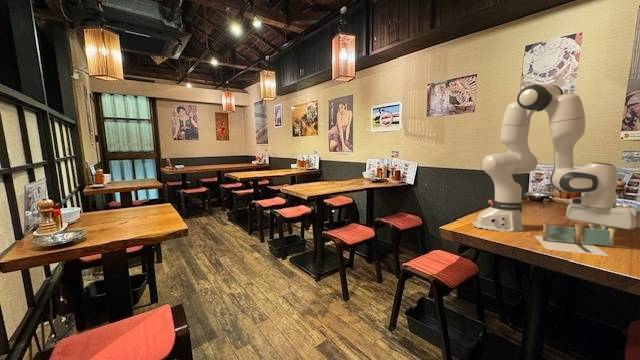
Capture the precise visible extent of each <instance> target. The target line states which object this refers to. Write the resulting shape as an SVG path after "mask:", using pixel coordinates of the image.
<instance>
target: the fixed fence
mask: <svg viewBox="0 0 640 360" xmlns="http://www.w3.org/2000/svg"><path fill="white" fill-rule="evenodd" d="M583 228H584V225H582V224H574V227H572V226H563V225H562V226H561V225H560V226H557V225H549V223H546V222H545V223H543V230H542V232H543V233H542V236H543V241H548V240H557V241H568V242H573V240H574V244H577V245H582V240H583Z"/></svg>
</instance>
